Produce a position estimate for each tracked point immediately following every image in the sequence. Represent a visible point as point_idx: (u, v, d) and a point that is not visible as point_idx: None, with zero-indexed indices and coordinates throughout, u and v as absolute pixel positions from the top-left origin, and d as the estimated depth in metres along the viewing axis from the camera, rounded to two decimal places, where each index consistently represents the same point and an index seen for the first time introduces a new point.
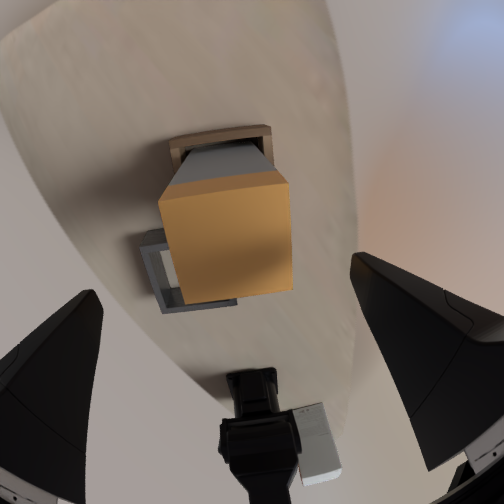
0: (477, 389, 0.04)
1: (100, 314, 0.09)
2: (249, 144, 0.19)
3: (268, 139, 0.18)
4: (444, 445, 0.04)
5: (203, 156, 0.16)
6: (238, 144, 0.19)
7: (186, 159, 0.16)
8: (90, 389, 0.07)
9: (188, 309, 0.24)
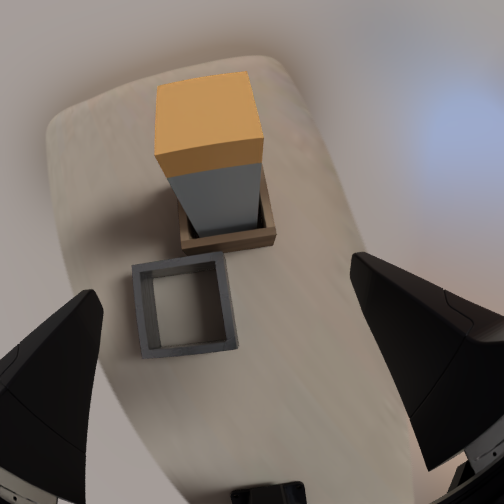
0: (477, 389, 0.04)
1: (100, 314, 0.09)
2: None
3: None
4: (444, 444, 0.04)
5: None
6: None
7: None
8: (90, 389, 0.07)
9: (175, 353, 0.18)
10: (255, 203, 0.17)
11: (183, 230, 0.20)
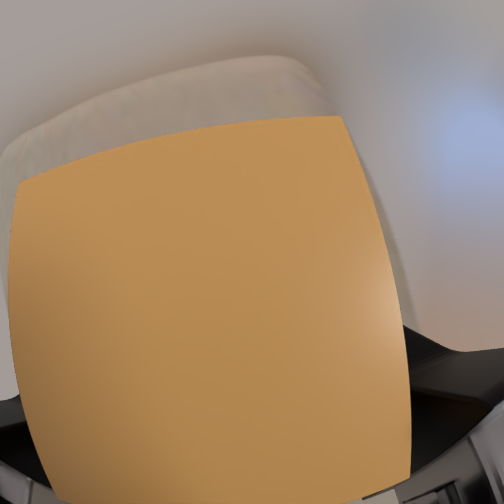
0: None
1: None
2: None
3: None
4: None
5: None
6: None
7: None
8: None
9: None
10: None
11: None
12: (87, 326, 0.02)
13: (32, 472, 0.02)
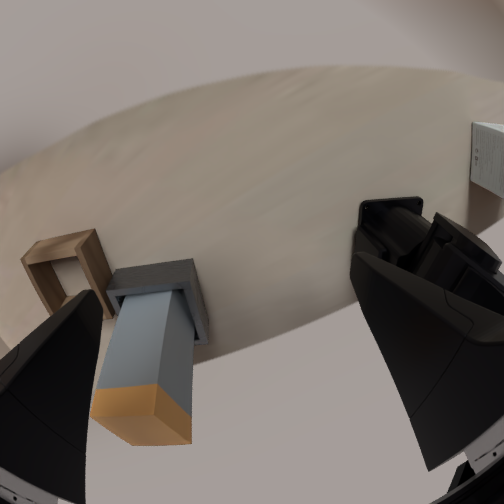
0: (477, 389, 0.04)
1: (100, 314, 0.09)
2: None
3: (27, 260, 0.17)
4: (444, 445, 0.04)
5: None
6: None
7: None
8: (90, 389, 0.07)
9: (200, 323, 0.22)
10: (167, 325, 0.17)
11: None
12: (146, 438, 0.13)
13: None
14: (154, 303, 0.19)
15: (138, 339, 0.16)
